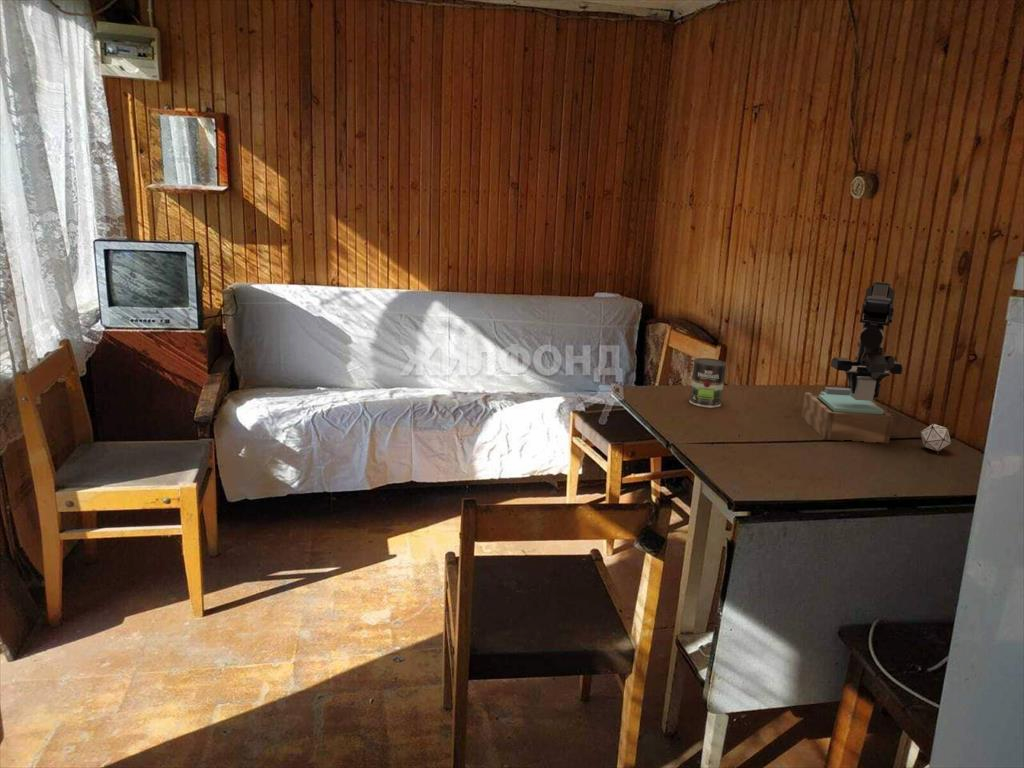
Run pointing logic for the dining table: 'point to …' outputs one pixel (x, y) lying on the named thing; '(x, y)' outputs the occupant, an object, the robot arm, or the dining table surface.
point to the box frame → (846, 422)
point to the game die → (935, 437)
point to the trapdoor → (847, 402)
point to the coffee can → (707, 382)
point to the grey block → (864, 388)
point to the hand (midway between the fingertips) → (861, 394)
